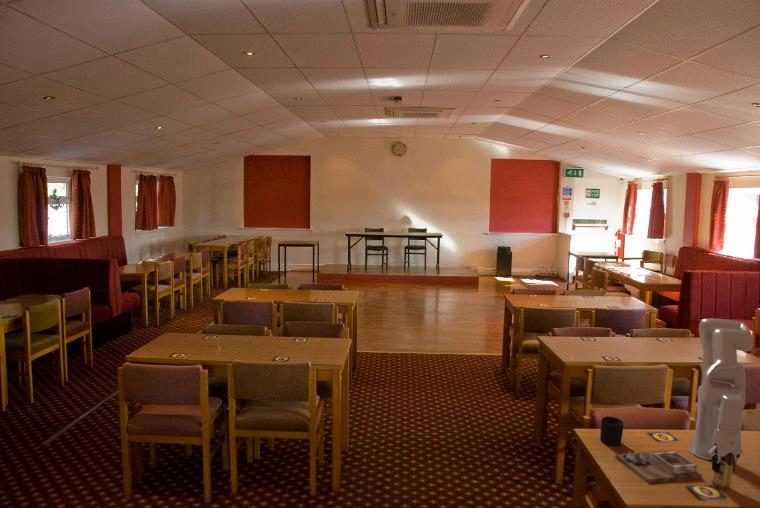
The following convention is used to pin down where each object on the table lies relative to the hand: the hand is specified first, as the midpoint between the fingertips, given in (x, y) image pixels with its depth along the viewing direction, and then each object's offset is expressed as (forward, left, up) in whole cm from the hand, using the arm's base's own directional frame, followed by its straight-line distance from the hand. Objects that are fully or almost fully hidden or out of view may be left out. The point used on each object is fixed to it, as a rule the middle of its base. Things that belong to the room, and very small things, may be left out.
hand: (722, 470), depth 216 cm
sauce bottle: (0, 0, -7) cm, 7 cm away
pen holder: (+20, -41, -7) cm, 46 cm away
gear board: (+15, -17, -7) cm, 24 cm away
